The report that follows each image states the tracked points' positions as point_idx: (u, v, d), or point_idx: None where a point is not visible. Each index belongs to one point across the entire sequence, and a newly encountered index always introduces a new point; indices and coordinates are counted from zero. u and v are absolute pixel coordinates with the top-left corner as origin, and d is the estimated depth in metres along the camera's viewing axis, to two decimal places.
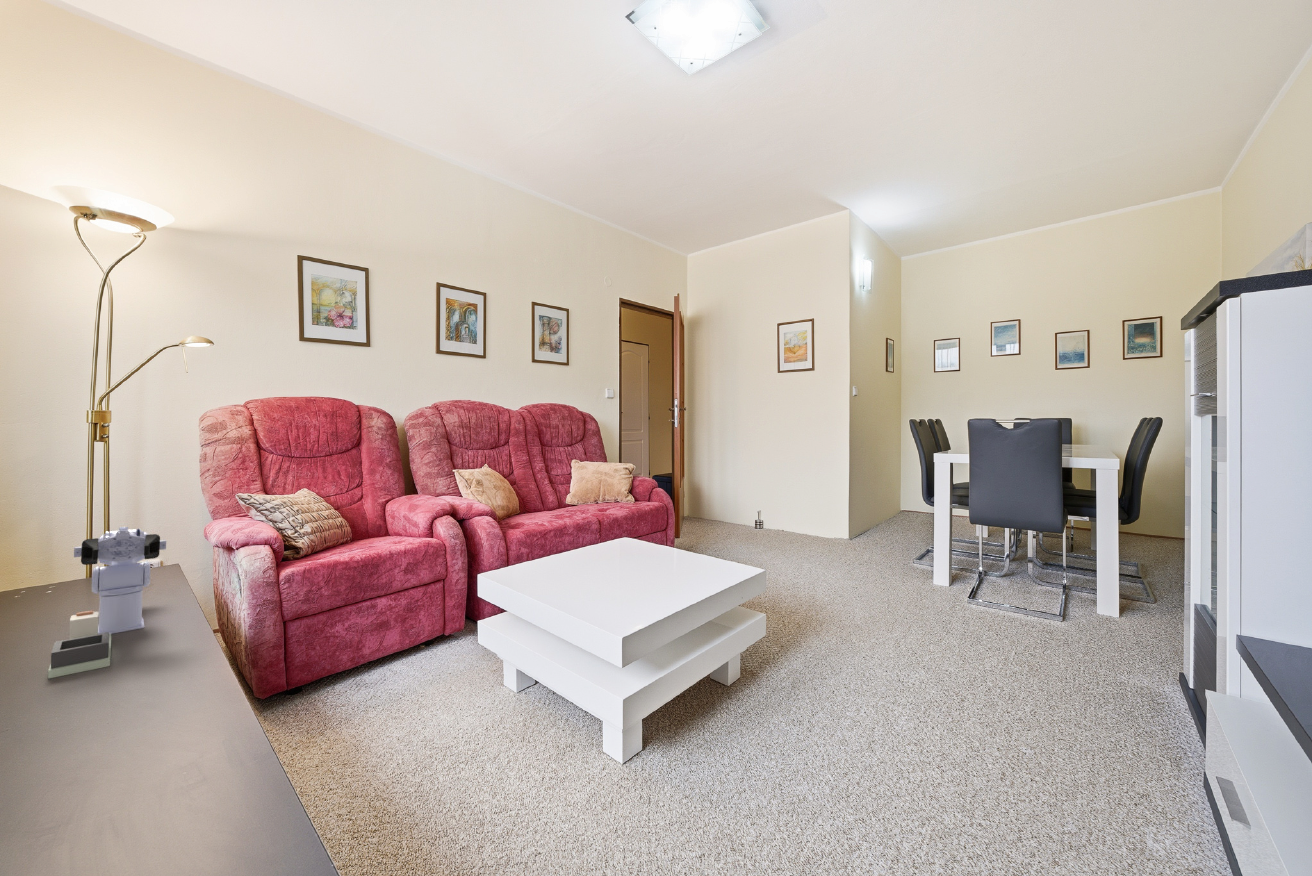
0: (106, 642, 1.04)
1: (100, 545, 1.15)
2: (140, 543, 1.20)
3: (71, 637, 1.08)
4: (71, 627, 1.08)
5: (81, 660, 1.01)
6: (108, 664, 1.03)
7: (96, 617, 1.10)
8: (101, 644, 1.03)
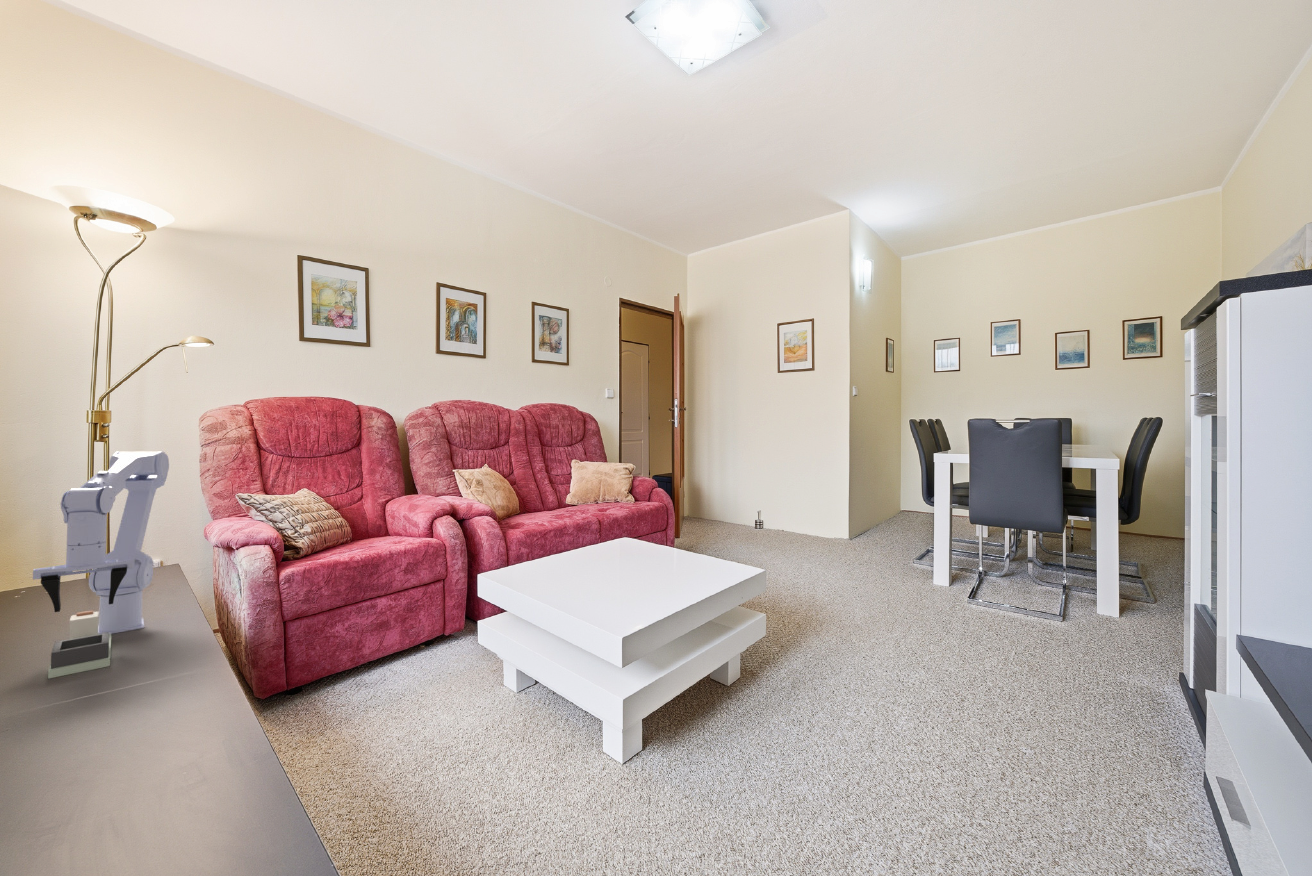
0: (106, 642, 1.04)
1: None
2: (105, 567, 1.13)
3: (71, 637, 1.08)
4: (71, 627, 1.08)
5: (81, 660, 1.01)
6: (108, 664, 1.03)
7: (96, 617, 1.10)
8: (101, 644, 1.03)
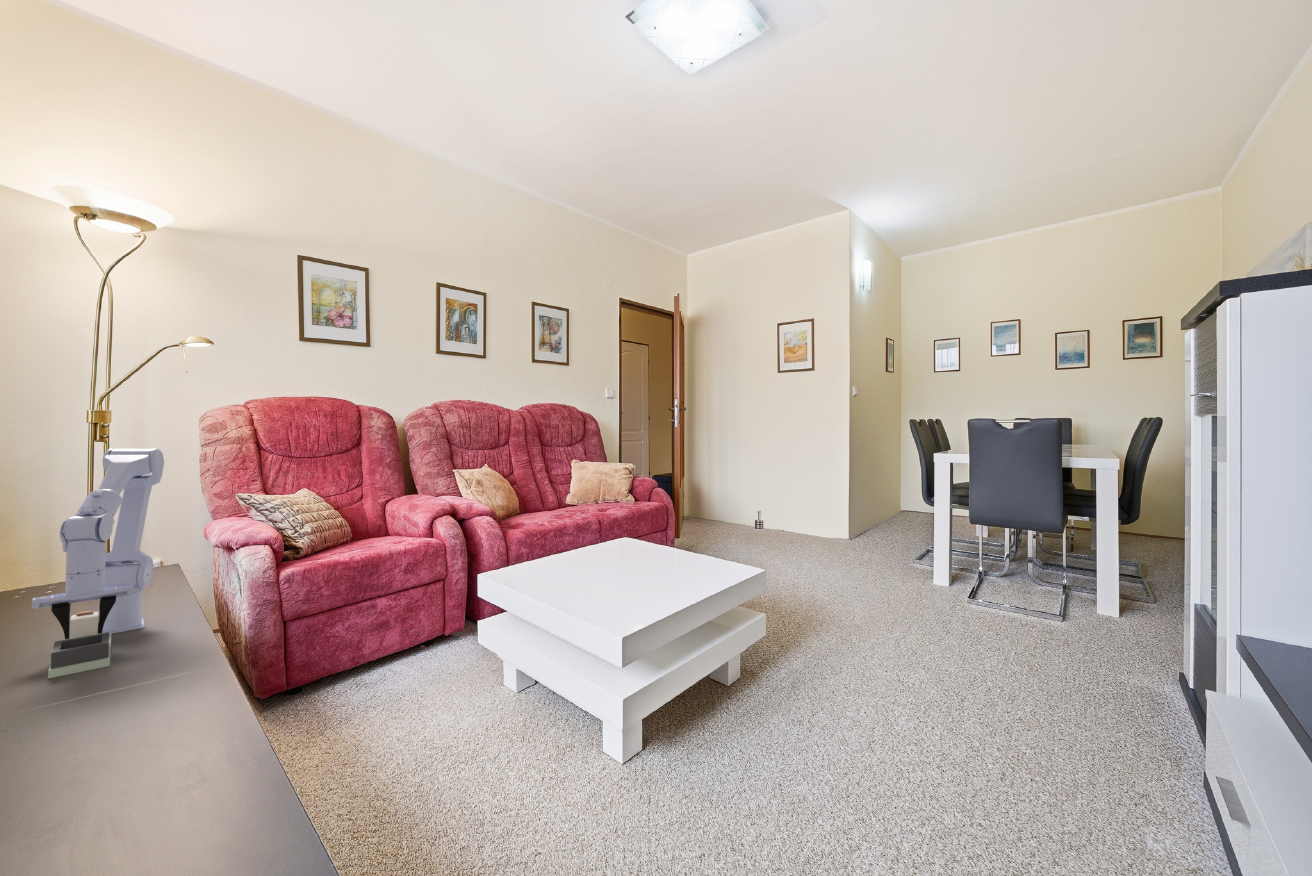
0: (106, 642, 1.04)
1: None
2: (105, 595, 1.12)
3: (71, 637, 1.08)
4: (71, 627, 1.08)
5: (81, 660, 1.01)
6: (108, 664, 1.03)
7: (96, 617, 1.10)
8: (101, 644, 1.03)
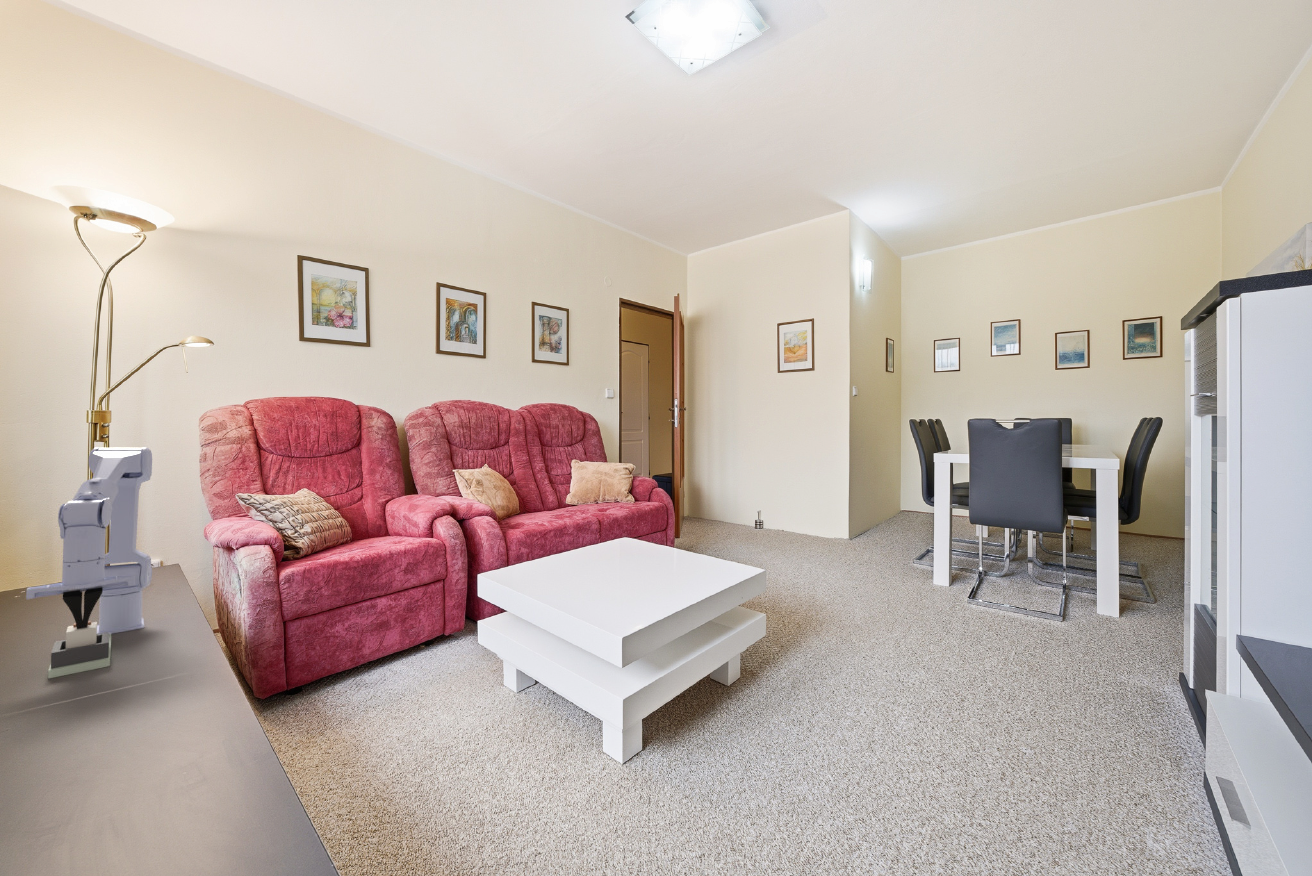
0: (106, 642, 1.04)
1: (57, 589, 1.01)
2: (104, 584, 1.06)
3: None
4: (67, 639, 1.01)
5: (81, 660, 1.01)
6: (108, 664, 1.03)
7: (94, 628, 1.03)
8: (101, 644, 1.03)
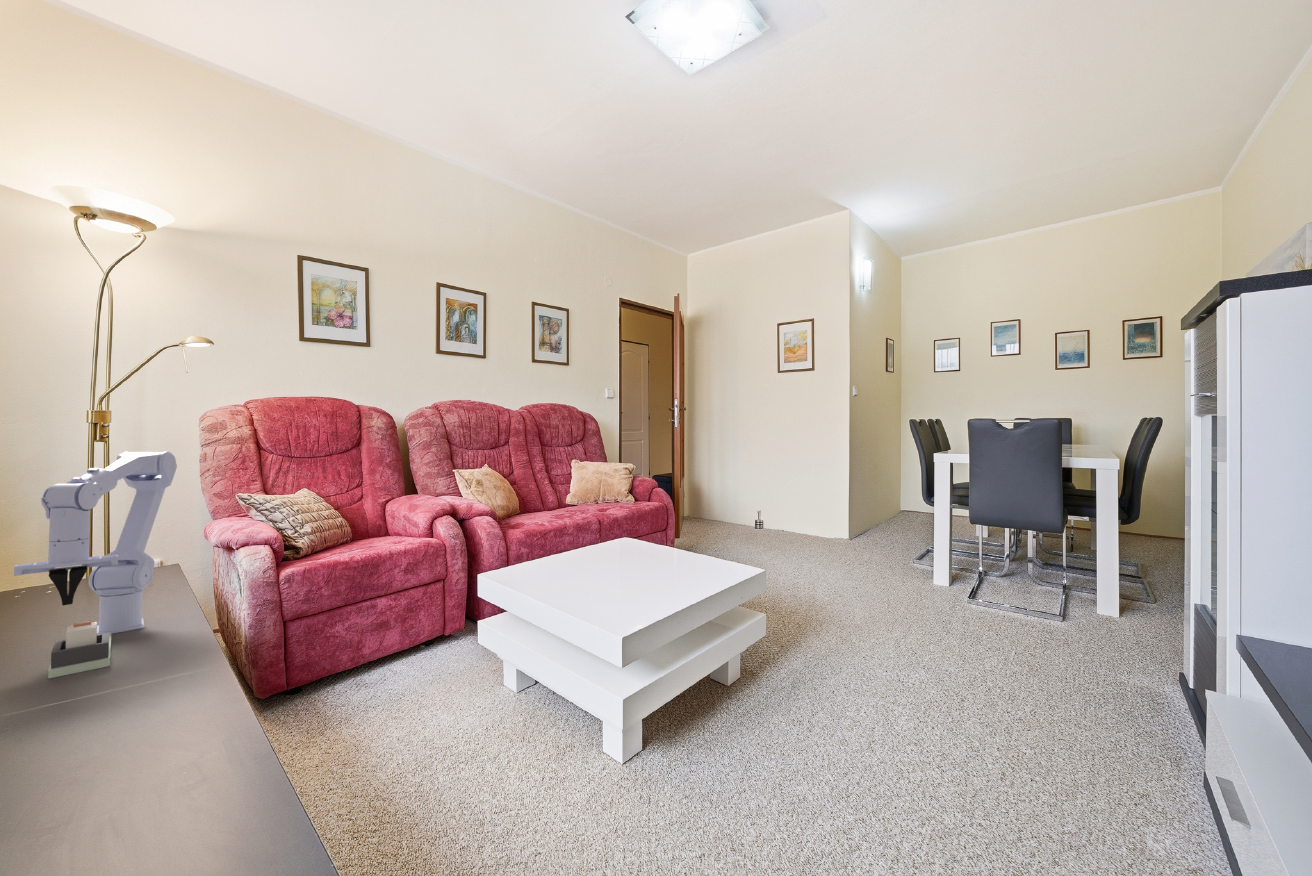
0: (106, 642, 1.04)
1: (44, 567, 1.07)
2: (89, 563, 1.11)
3: None
4: (67, 639, 1.01)
5: (81, 660, 1.01)
6: (108, 664, 1.03)
7: (94, 628, 1.03)
8: (101, 644, 1.03)
